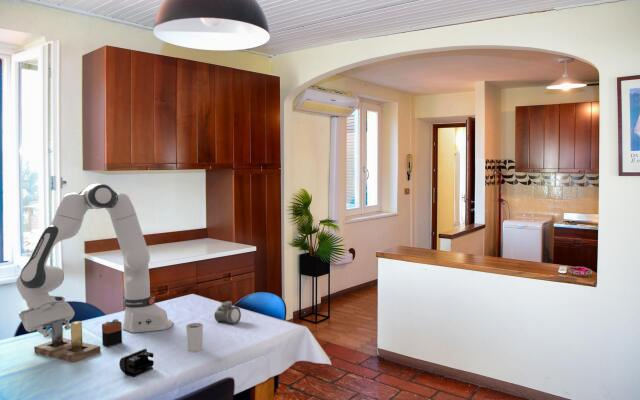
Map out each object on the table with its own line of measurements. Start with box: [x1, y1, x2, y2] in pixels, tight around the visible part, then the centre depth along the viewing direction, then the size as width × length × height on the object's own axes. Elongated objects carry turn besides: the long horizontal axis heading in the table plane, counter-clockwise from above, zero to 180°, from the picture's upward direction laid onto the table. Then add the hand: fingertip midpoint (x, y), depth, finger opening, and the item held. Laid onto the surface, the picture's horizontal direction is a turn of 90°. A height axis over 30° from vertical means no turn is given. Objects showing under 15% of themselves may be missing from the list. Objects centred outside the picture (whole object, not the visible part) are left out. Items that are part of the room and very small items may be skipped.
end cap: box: [118, 348, 155, 378], centre depth 181 cm, size 10×7×7 cm
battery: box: [101, 318, 123, 348], centre depth 210 cm, size 4×7×10 cm, turn 142°
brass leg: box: [70, 320, 84, 352], centre depth 197 cm, size 4×4×13 cm
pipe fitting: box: [214, 300, 242, 325], centre depth 240 cm, size 12×8×10 cm
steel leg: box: [51, 320, 64, 348], centre depth 203 cm, size 4×4×12 cm
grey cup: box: [185, 322, 204, 353], centre depth 203 cm, size 7×7×10 cm
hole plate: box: [33, 337, 101, 363], centre depth 200 cm, size 24×12×2 cm, turn 63°
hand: (58, 332), depth 202 cm, fingers open, 8 cm apart
